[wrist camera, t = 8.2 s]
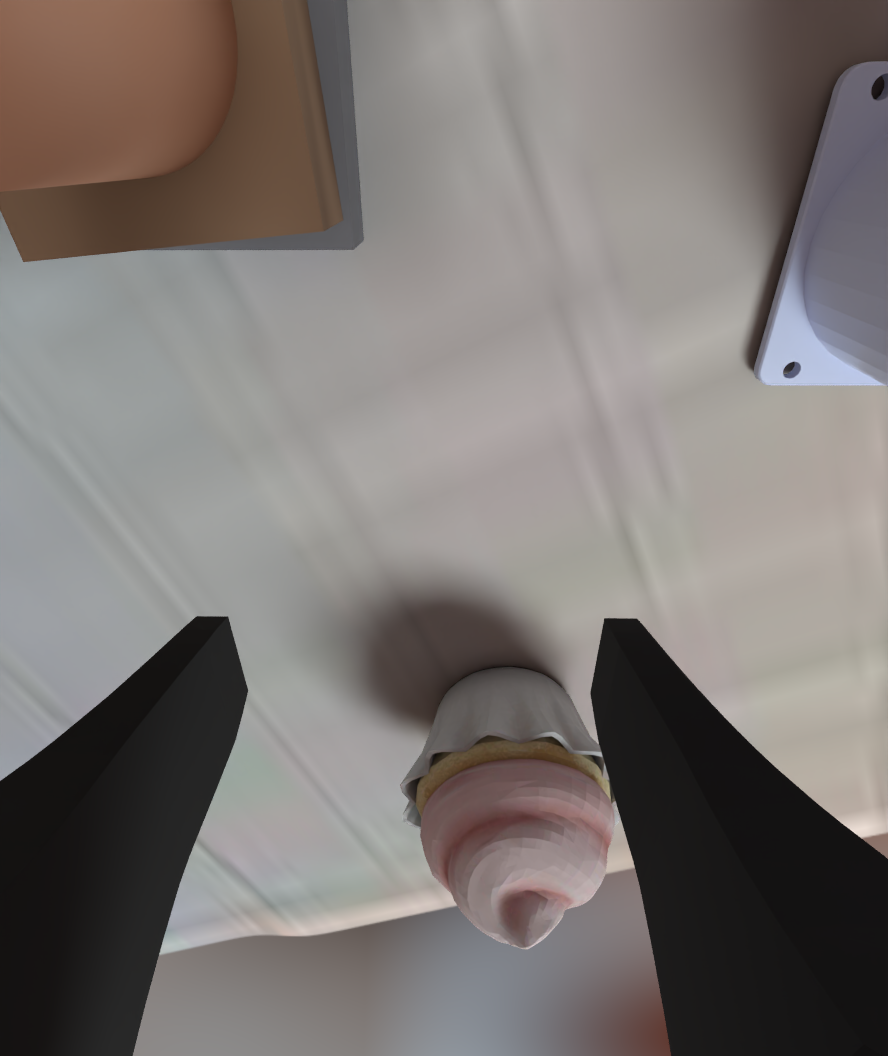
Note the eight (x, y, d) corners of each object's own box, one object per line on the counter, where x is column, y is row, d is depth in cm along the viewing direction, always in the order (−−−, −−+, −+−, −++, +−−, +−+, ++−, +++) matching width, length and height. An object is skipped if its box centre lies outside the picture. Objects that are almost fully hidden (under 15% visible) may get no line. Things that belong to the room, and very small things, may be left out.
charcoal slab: (338, -160, 13) (315, -220, 11) (366, 237, 17) (353, 249, 15) (-12, -153, 13) (-103, -212, 11) (102, 238, 18) (53, 249, 15)
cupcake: (638, 660, 26) (725, 906, 17) (561, 782, 31) (600, 1020, 22) (433, 616, 25) (421, 857, 16) (388, 751, 30) (360, 988, 21)
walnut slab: (275, -192, 11) (231, -273, 9) (343, 220, 15) (323, 231, 13) (-67, -139, 12) (-184, -202, 10) (83, 246, 15) (23, 261, 13)
